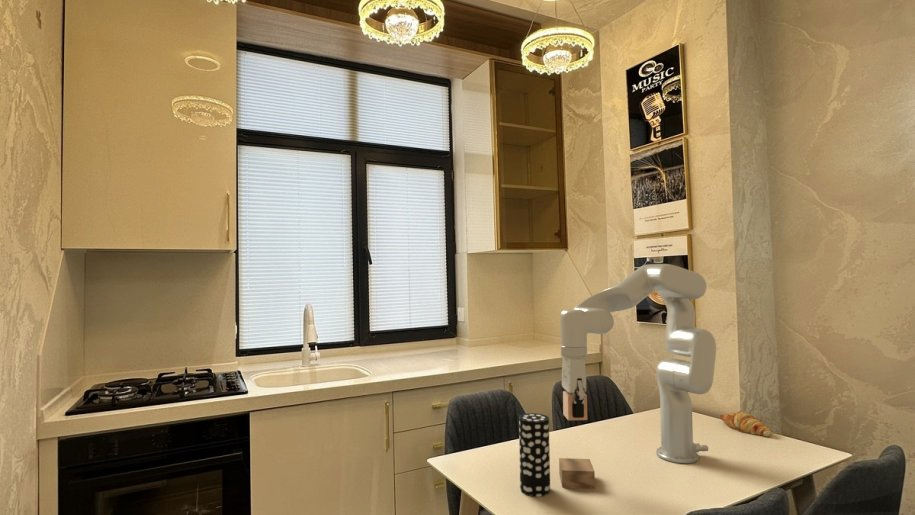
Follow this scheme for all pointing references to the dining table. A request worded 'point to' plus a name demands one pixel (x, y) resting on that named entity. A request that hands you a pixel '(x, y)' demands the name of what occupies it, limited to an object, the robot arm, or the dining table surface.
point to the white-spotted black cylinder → (534, 454)
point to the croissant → (746, 423)
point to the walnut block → (576, 473)
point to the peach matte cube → (568, 406)
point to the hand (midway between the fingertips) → (575, 413)
